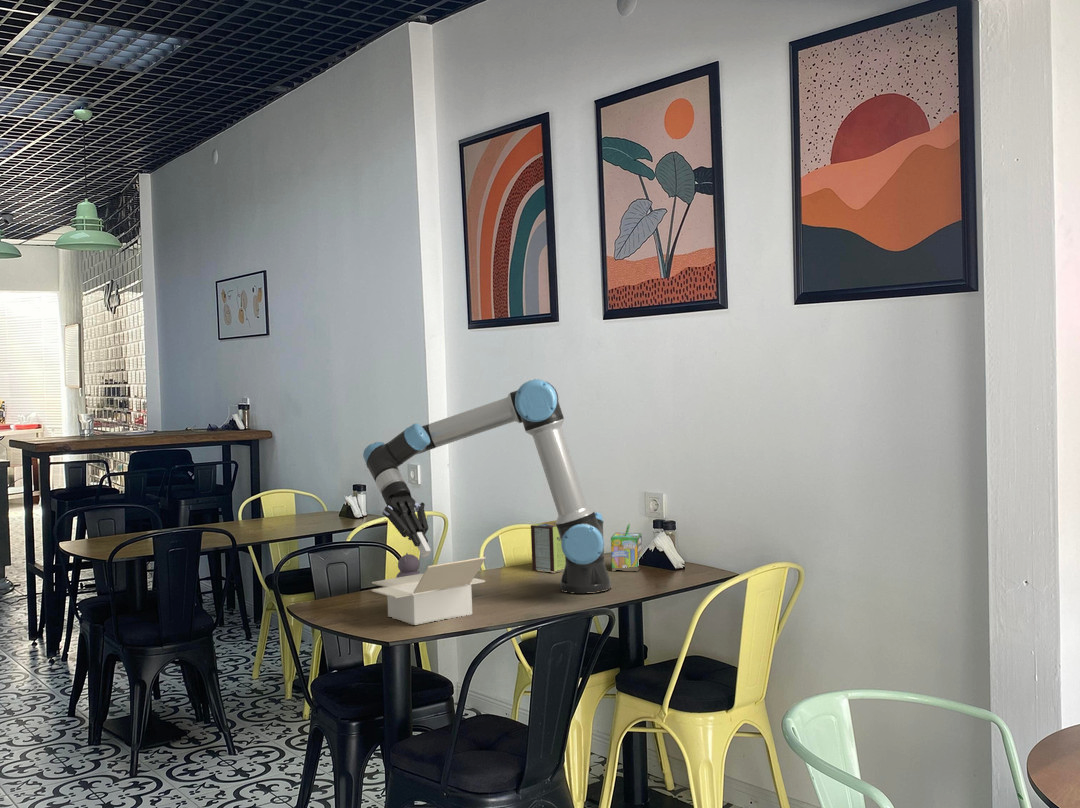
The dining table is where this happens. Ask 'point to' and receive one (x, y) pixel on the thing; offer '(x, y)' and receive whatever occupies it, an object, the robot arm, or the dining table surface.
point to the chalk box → (626, 549)
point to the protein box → (546, 547)
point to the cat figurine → (408, 565)
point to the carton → (425, 600)
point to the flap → (449, 575)
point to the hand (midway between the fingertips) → (426, 553)
